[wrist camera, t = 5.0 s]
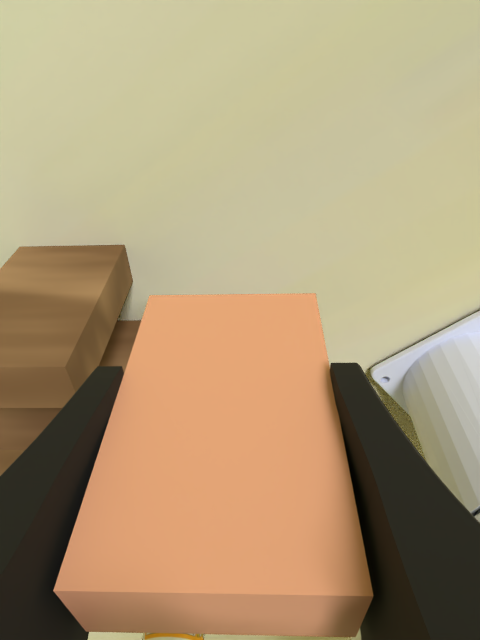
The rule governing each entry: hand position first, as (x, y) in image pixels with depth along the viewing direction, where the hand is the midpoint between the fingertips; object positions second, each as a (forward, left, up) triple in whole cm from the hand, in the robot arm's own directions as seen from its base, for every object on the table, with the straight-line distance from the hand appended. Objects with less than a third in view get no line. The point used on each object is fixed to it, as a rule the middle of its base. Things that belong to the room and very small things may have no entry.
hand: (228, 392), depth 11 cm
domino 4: (+3, +8, -10) cm, 13 cm away
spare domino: (0, 0, -3) cm, 3 cm away
